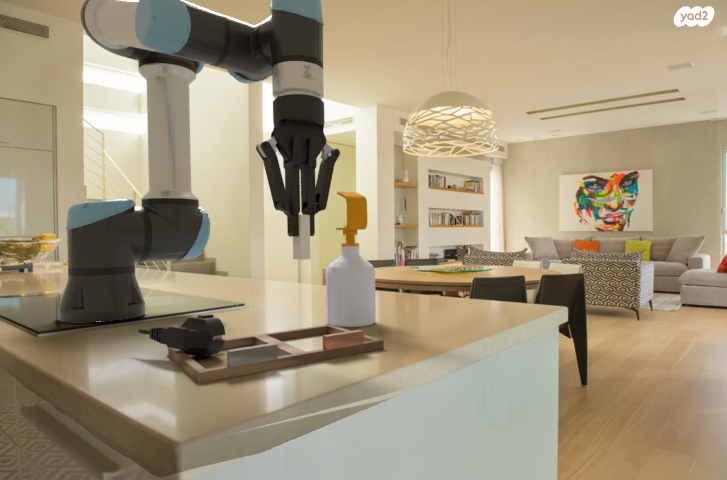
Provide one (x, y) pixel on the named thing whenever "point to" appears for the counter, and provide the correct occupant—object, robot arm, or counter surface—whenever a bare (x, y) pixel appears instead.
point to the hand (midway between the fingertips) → (301, 259)
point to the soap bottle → (351, 273)
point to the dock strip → (278, 351)
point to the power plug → (192, 335)
